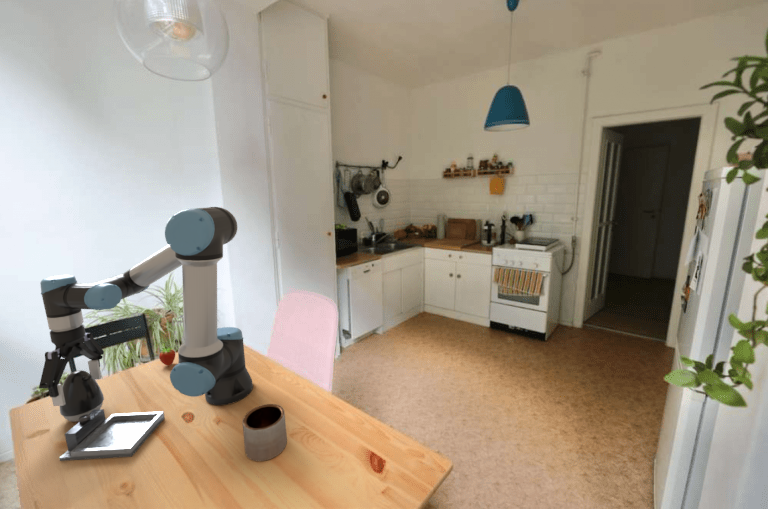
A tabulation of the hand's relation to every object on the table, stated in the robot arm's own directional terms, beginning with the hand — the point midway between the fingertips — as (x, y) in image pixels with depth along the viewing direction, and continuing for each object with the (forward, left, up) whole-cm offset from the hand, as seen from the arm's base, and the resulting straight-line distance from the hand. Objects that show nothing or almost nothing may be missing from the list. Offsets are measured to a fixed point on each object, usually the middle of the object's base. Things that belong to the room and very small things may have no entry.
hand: (79, 391), depth 103 cm
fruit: (-9, -30, -9) cm, 33 cm away
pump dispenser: (0, 0, -9) cm, 9 cm away
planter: (-61, +18, -9) cm, 65 cm away
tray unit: (-17, +11, -9) cm, 22 cm away
